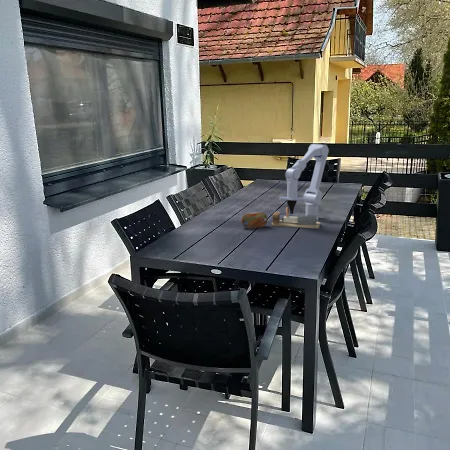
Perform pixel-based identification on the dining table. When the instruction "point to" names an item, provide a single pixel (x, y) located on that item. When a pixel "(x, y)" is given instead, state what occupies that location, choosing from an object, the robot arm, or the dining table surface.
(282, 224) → the base board
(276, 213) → the socket block
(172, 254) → the dining table surface
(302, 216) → the grey rectangular sleeve
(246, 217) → the tin
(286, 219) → the white bar
